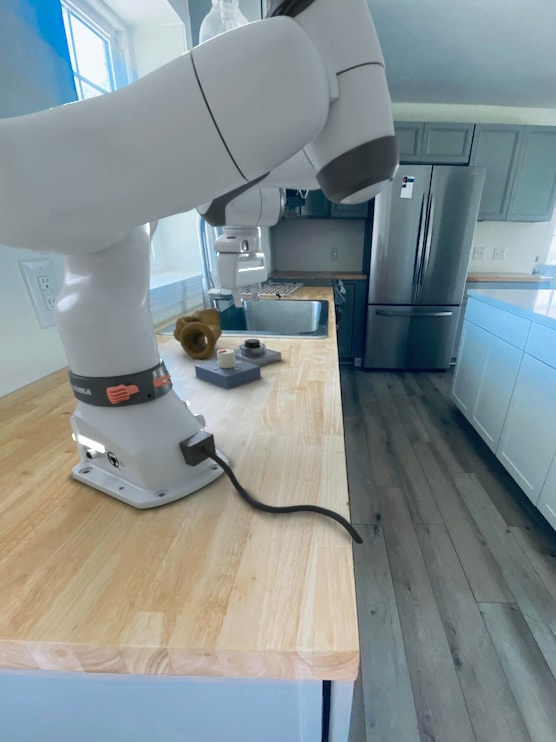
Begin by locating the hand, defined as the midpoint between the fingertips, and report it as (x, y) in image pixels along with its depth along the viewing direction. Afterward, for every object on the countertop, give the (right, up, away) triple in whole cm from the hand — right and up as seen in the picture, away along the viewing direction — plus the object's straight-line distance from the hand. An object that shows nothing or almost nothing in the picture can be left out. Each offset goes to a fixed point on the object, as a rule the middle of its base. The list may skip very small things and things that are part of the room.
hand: (248, 304), depth 93 cm
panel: (-4, -20, -5) cm, 21 cm away
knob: (-4, -17, -6) cm, 19 cm away
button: (0, -9, +7) cm, 12 cm away
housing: (0, -13, +9) cm, 15 cm away
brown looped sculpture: (-18, -7, +18) cm, 27 cm away
